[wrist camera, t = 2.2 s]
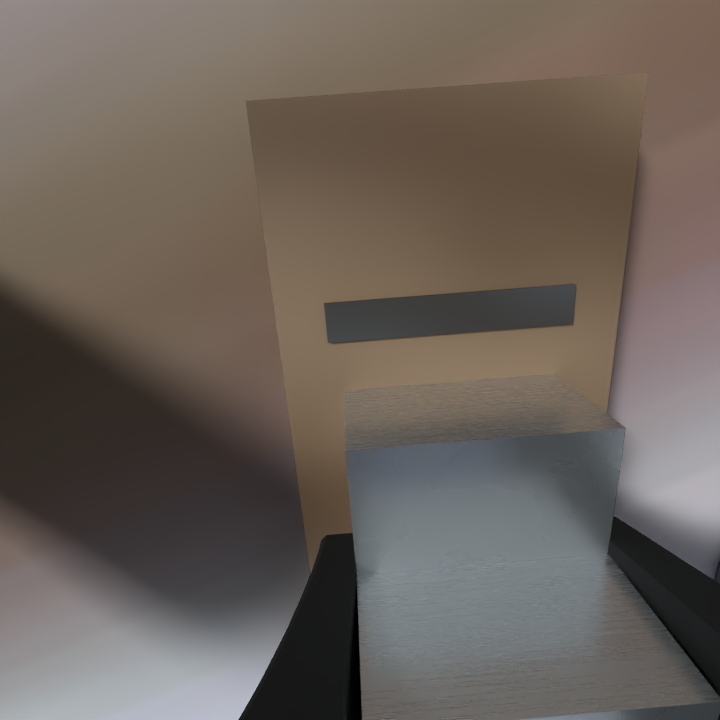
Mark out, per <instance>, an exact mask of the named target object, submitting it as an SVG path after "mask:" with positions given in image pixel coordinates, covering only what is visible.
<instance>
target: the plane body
mask: <svg viewBox="0 0 720 720" xmlns="http://www.w3.org/2000/svg"><path fill="white" fill-rule="evenodd" d="M648 73H649V72H644V73H630V74H616V75H602V76H588V77H574V78H560V79H546V80H532V81H518V82H504V83H490V84H476V85H462V86H448V87H434V88H420V89H406V90H392V91H378V92H364V93H350V94H336V95H322V96H308V97H294V98H280V99H266V100H252V101H246V106H247V113H248V121H249V128H250V135H251V143H252V150H253V157H254V165H255V172H256V179H257V187H258V194H259V201H260V209H261V216H262V223H263V231H264V238H265V246H266V253H267V260H268V268H269V275H270V282H271V290H272V297H273V304H274V312H275V319H276V326H277V334H278V341H279V348H280V356H281V363H282V370H283V378H284V385H285V392H286V400H287V407H288V414H289V422H290V429H291V436H292V444H293V451H294V458H295V466H296V473H297V480H298V488H299V495H300V502H301V510H302V517H303V525H304V532H305V539H306V547H307V554H308V561H309V569H310V574H311V572H312V569H313V566H314V563H315V560H316V557H317V554H318V551H319V547H320V543H321V540H322V539H323V538H324V537H325V536H326V535H332V534H344V533H353V530H352V519H351V509H350V498H349V487H348V476H347V466H346V455H345V390H353V389H365V388H378V387H390V386H403V385H416V384H428V383H441V382H453V381H466V380H478V379H491V378H503V377H516V376H528V375H541V374H556V375H557V376H558V377H560V378H561V379H562V380H564V381H565V382H566V383H567V384H569V385H570V386H571V387H573V388H574V389H575V390H577V391H578V392H579V393H580V394H582V395H583V396H584V397H586V398H587V399H588V400H590V401H591V402H592V403H593V404H595V405H596V406H597V407H599V408H600V409H601V410H603V411H604V412H605V413H607V407H608V399H609V391H610V383H611V375H612V366H613V358H614V350H615V342H616V334H617V326H618V318H619V309H620V301H621V293H622V285H623V277H624V269H625V261H626V252H627V244H628V236H629V228H630V220H631V212H632V204H633V196H634V187H635V179H636V171H637V163H638V155H639V147H640V139H641V130H642V122H643V114H644V106H645V98H646V90H647V82H648Z"/></svg>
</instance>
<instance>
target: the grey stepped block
mask: <svg viewBox="0 0 720 720" xmlns="http://www.w3.org/2000/svg"><path fill="white" fill-rule="evenodd" d="M625 429H626V428H625V427H623V426H622V425H621V424H620V423H618V422H617V421H616V420H614V419H613V418H612V417H610V416H609V415H608V414H607V413H605V412H604V411H603V410H601V409H600V408H599V407H597V406H596V405H595V404H593V403H592V402H591V401H590V400H588V399H587V398H586V397H584V396H583V395H582V394H580V393H579V392H578V391H577V390H575V389H574V388H573V387H571V386H570V385H569V384H567V383H566V382H565V381H564V380H562V379H561V378H560V377H558V376H557V375H556V374H541V375H528V376H516V377H503V378H491V379H478V380H466V381H453V382H441V383H428V384H416V385H403V386H390V387H378V388H365V389H353V390H345V455H346V466H347V476H348V487H349V498H350V509H351V519H352V530H353V541H354V552H355V562H356V570H357V598H358V624H359V650H360V677H361V703H362V720H718V717H719V713H720V697H719V696H718V695H717V693H716V692H715V691H714V689H713V688H712V687H711V686H710V684H709V683H708V682H707V680H706V679H705V678H704V677H703V675H702V674H701V673H700V671H699V670H698V669H697V668H696V666H695V665H694V664H693V662H692V661H691V660H690V658H689V657H688V656H687V655H686V653H685V652H684V651H683V649H682V648H681V647H680V646H679V644H678V643H677V642H676V640H675V639H674V638H673V637H672V635H671V634H670V633H669V631H668V630H667V629H666V628H665V626H664V625H663V624H662V622H661V621H660V620H659V618H658V617H657V616H656V615H655V613H654V612H653V611H652V609H651V608H650V607H649V606H648V604H647V603H646V602H645V600H644V599H643V598H642V597H641V595H640V594H639V593H638V591H637V590H636V589H635V587H634V586H633V585H632V584H631V582H630V581H629V580H628V578H627V577H626V576H625V575H624V573H623V572H622V571H621V569H620V568H619V567H618V566H617V564H616V563H615V562H614V560H613V559H612V558H611V557H610V556H609V555H608V546H609V540H610V536H611V529H612V522H613V514H614V507H615V500H616V493H617V486H618V479H619V472H620V464H621V457H622V450H623V443H624V436H625Z"/></svg>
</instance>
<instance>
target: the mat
mask: <svg viewBox="0 0 720 720" xmlns="http://www.w3.org/2000/svg"><path fill="white" fill-rule="evenodd" d="M715 581H716V582H718V583H719V584H720V563H719V568H718V572H717V576H716V580H715Z"/></svg>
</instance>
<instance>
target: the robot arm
mask: <svg viewBox="0 0 720 720" xmlns="http://www.w3.org/2000/svg"><path fill="white" fill-rule="evenodd" d="M608 555H609V556H610V557H611V558H612V559H613V560H614V562H615V563H616V564H617V566H618V567H619V568H620V569H621V571H622V572H623V573H624V575H625V576H626V577H627V578H628V580H629V581H630V582H631V584H632V585H633V586H634V587H635V589H636V590H637V591H638V593H639V594H640V595H641V597H642V598H643V599H644V600H645V602H646V603H647V604H648V606H649V607H650V608H651V609H652V611H653V612H654V613H655V615H656V616H657V617H658V618H659V620H660V621H661V622H662V624H663V625H664V626H665V628H666V629H667V630H668V631H669V633H670V634H671V635H672V637H673V638H674V639H675V640H676V642H677V643H678V644H679V646H680V647H681V648H682V649H683V651H684V652H685V653H686V655H687V656H688V657H689V658H690V660H691V661H692V662H693V664H694V665H695V666H696V668H697V669H698V670H699V671H700V673H701V674H702V675H703V677H704V678H705V679H706V680H707V682H708V683H709V684H710V686H711V687H712V688H713V689H714V691H715V692H716V693H717V695H718V696H719V697H720V584H719V583H718V582H716V581H715V580H713V579H711V578H710V577H708V576H707V575H705V574H703V573H702V572H700V571H699V570H697V569H696V568H694V567H692V566H691V565H689V564H688V563H686V562H685V561H683V560H681V559H680V558H678V557H677V556H675V555H674V554H672V553H671V552H669V551H668V550H666V549H664V548H663V547H661V546H660V545H658V544H657V543H655V542H654V541H652V540H651V539H649V538H647V537H646V536H644V535H643V534H641V533H640V532H638V531H637V530H635V529H634V528H632V527H630V526H629V525H627V524H626V523H624V522H622V521H621V520H619V519H618V518H616V517H614V516H613V522H612V529H611V536H610V540H609V546H608ZM239 720H362V703H361V677H360V650H359V624H358V598H357V570H356V562H355V552H354V541H353V533H344V534H332V535H326V536H325V537H324V538H323V539H322V540H321V543H320V547H319V551H318V554H317V557H316V560H315V563H314V566H313V569H312V572H311V574H310V577H309V580H308V582H307V585H306V587H305V590H304V592H303V594H302V597H301V599H300V601H299V603H298V606H297V608H296V610H295V613H294V615H293V617H292V619H291V622H290V624H289V626H288V628H287V630H286V632H285V634H284V636H283V638H282V640H281V642H280V644H279V646H278V648H277V650H276V652H275V654H274V656H273V658H272V660H271V662H270V664H269V666H268V668H267V670H266V672H265V674H264V676H263V677H262V679H261V681H260V683H259V685H258V687H257V688H256V690H255V692H254V694H253V696H252V697H251V699H250V701H249V703H248V704H247V706H246V708H245V710H244V711H243V713H242V715H241V716H240V718H239ZM718 720H720V713H719V717H718Z"/></svg>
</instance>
